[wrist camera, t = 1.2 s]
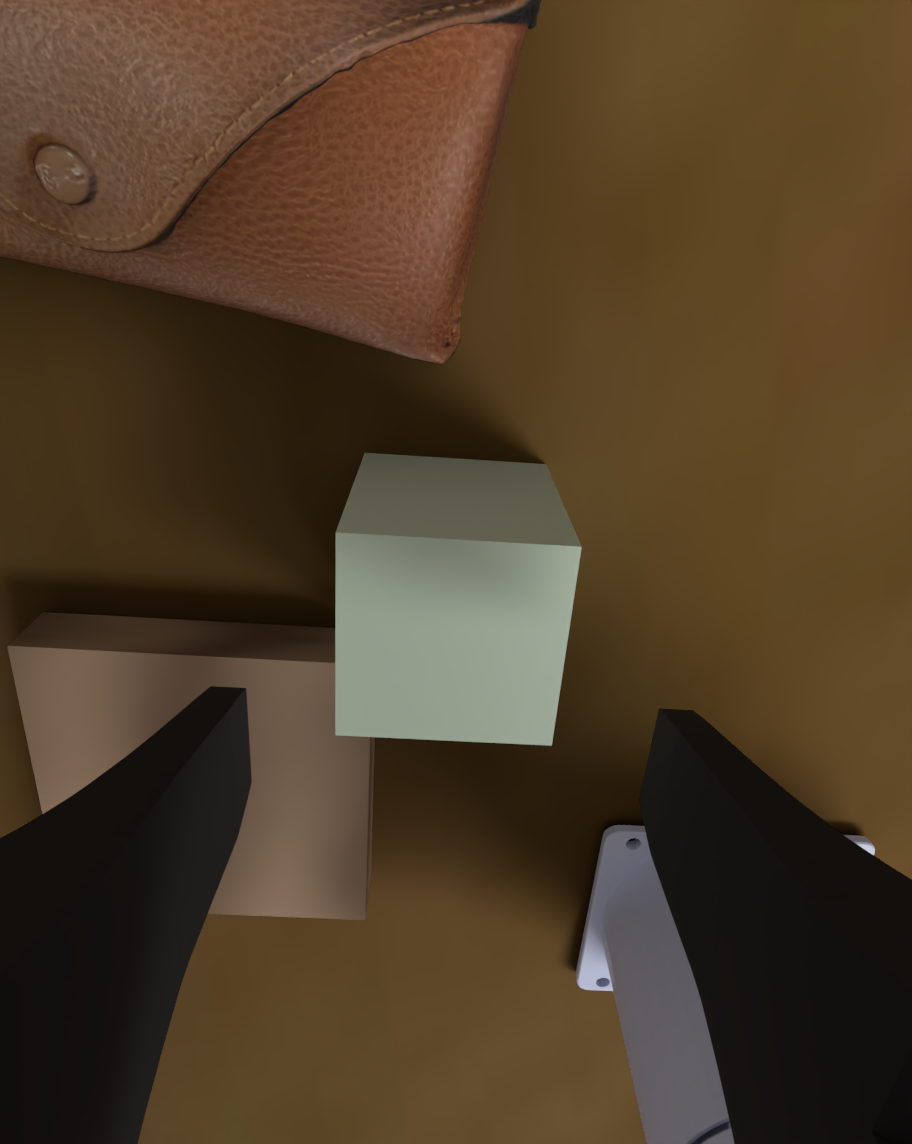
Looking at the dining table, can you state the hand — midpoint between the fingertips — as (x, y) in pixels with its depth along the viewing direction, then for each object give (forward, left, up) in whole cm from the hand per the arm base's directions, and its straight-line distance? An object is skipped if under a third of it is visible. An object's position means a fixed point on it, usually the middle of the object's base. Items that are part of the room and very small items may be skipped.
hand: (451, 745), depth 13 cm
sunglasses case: (+8, -10, -10) cm, 16 cm away
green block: (0, 0, -9) cm, 9 cm away
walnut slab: (+7, +8, -9) cm, 14 cm away
